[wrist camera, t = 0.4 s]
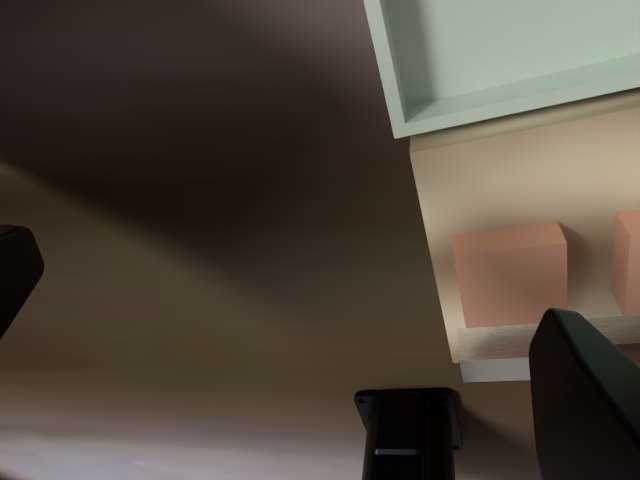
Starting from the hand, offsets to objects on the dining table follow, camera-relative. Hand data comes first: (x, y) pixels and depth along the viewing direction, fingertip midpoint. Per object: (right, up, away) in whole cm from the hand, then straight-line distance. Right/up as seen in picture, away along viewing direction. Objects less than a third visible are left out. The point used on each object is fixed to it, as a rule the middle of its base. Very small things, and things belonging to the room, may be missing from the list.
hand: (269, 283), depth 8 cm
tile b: (+9, 0, +11) cm, 14 cm away
